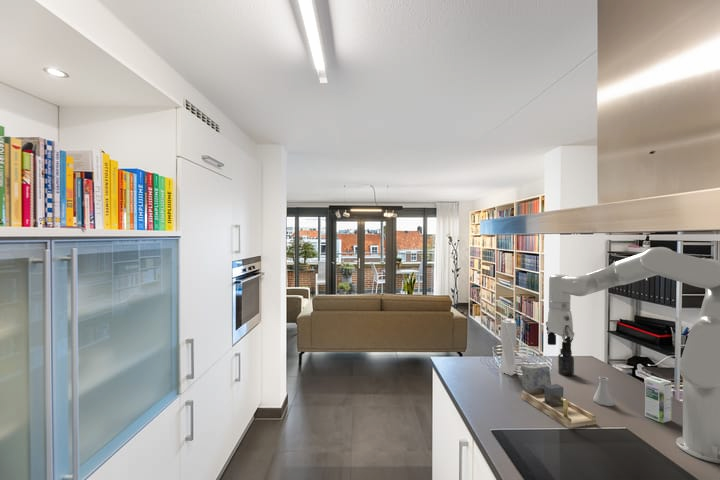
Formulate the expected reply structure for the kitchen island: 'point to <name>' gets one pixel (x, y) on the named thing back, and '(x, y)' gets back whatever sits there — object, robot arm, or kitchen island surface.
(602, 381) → the flask
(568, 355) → the supplement bottle
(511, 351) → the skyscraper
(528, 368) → the grey stone block
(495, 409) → the kitchen island surface
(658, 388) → the syrup box
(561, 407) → the wooden tray
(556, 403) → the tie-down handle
